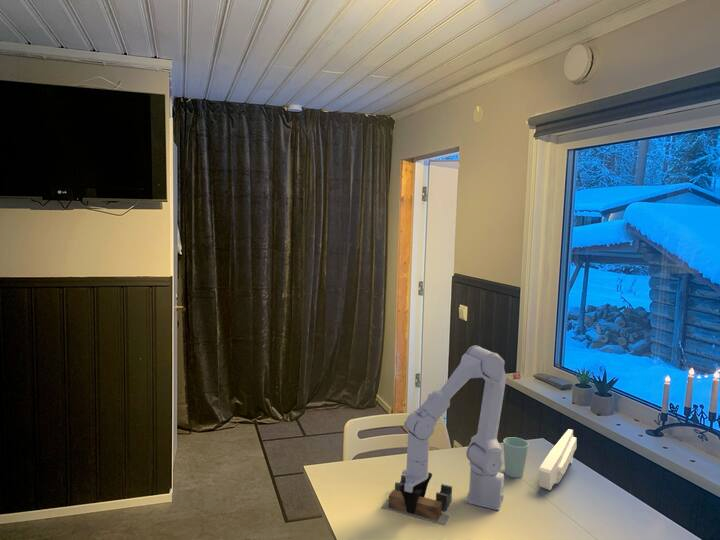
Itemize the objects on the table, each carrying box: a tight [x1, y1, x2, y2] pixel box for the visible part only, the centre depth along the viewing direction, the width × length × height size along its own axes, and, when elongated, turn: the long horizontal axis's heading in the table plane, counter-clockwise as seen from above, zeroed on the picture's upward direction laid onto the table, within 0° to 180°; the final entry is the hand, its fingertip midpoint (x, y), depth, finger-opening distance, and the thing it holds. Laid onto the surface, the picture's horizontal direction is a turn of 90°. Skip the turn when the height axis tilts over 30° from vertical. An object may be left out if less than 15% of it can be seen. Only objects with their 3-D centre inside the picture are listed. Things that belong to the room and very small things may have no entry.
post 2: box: [435, 483, 453, 513], centre depth 150 cm, size 3×6×4 cm, turn 156°
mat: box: [380, 498, 451, 526], centre depth 147 cm, size 18×5×1 cm, turn 66°
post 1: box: [394, 474, 406, 491], centre depth 155 cm, size 3×6×4 cm, turn 156°
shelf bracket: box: [538, 428, 578, 491], centre depth 170 cm, size 6×25×13 cm, turn 142°
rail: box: [388, 489, 443, 521], centre depth 146 cm, size 14×4×4 cm, turn 66°
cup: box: [502, 436, 530, 478], centre depth 171 cm, size 8×8×10 cm
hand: (415, 505), depth 147 cm, fingers open, 7 cm apart
